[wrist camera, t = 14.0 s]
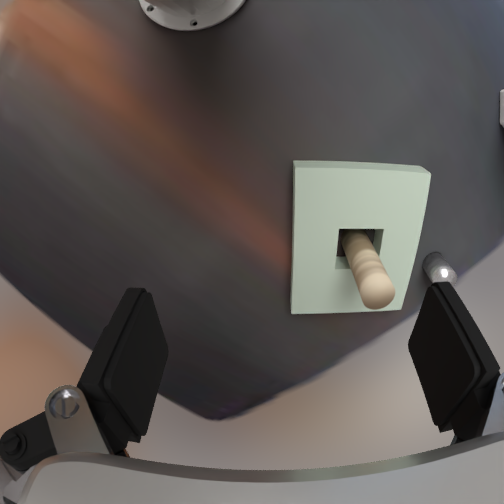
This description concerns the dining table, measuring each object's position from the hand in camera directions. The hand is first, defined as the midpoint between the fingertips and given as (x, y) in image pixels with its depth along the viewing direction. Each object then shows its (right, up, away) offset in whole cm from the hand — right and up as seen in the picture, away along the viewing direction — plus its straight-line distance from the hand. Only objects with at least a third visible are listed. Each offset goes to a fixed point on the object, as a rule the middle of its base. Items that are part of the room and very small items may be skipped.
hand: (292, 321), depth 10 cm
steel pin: (+25, +1, +31) cm, 40 cm away
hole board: (+12, +4, +29) cm, 32 cm away
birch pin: (+12, +4, +29) cm, 32 cm away
